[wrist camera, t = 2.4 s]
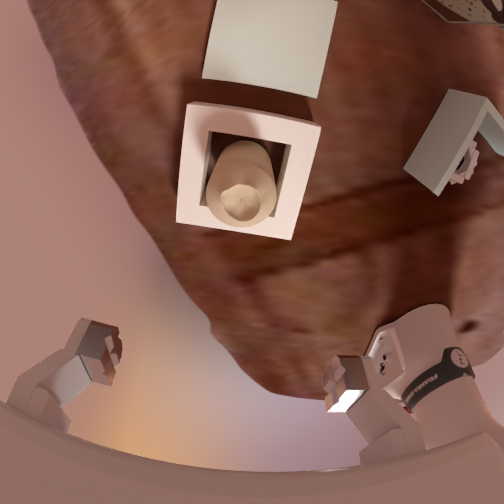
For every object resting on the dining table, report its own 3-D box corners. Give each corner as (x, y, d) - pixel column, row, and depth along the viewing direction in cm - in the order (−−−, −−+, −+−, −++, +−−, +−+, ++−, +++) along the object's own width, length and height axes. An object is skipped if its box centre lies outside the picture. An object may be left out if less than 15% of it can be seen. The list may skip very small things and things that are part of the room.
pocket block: (287, 224, 33) (290, 240, 30) (183, 207, 32) (175, 222, 29) (313, 122, 26) (321, 127, 23) (194, 101, 25) (187, 104, 22)
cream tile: (314, 97, 25) (316, 98, 24) (203, 78, 24) (201, 78, 23) (335, 4, 19) (338, 1, 18) (223, -18, 18) (222, -21, 17)
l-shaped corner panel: (400, 167, 29) (433, 192, 23) (446, 88, 23) (486, 97, 17) (456, 211, 32) (486, 240, 26) (496, 145, 26) (532, 164, 20)
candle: (207, 168, 29) (187, 208, 21) (241, 128, 27) (234, 152, 19) (247, 198, 31) (244, 249, 23) (281, 162, 29) (293, 200, 21)
